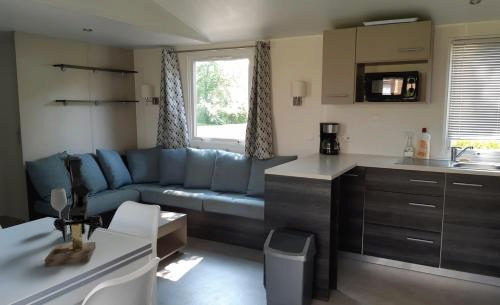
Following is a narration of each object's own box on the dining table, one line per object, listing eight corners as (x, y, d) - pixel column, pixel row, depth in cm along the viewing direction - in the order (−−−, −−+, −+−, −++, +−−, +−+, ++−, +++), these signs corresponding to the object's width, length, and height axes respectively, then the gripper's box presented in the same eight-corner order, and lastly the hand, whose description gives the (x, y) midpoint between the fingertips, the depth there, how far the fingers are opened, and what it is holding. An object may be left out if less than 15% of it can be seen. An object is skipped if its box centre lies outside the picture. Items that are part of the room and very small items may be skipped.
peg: (82, 253, 161) (80, 222, 160) (84, 256, 158) (82, 225, 156) (72, 255, 159) (69, 224, 157) (73, 259, 155) (71, 227, 154)
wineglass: (49, 228, 196) (46, 190, 193) (62, 224, 202) (60, 187, 200) (59, 230, 192) (55, 191, 190) (71, 226, 199) (69, 188, 196)
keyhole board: (45, 266, 148) (44, 259, 148) (56, 251, 164) (55, 245, 163) (88, 262, 152) (88, 255, 152) (95, 248, 167) (95, 241, 167)
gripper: (53, 200, 157) (47, 234, 148) (99, 197, 162) (96, 229, 152) (59, 213, 166) (54, 245, 157) (103, 210, 170) (100, 241, 161)
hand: (76, 240), depth 156 cm, fingers open, 9 cm apart
